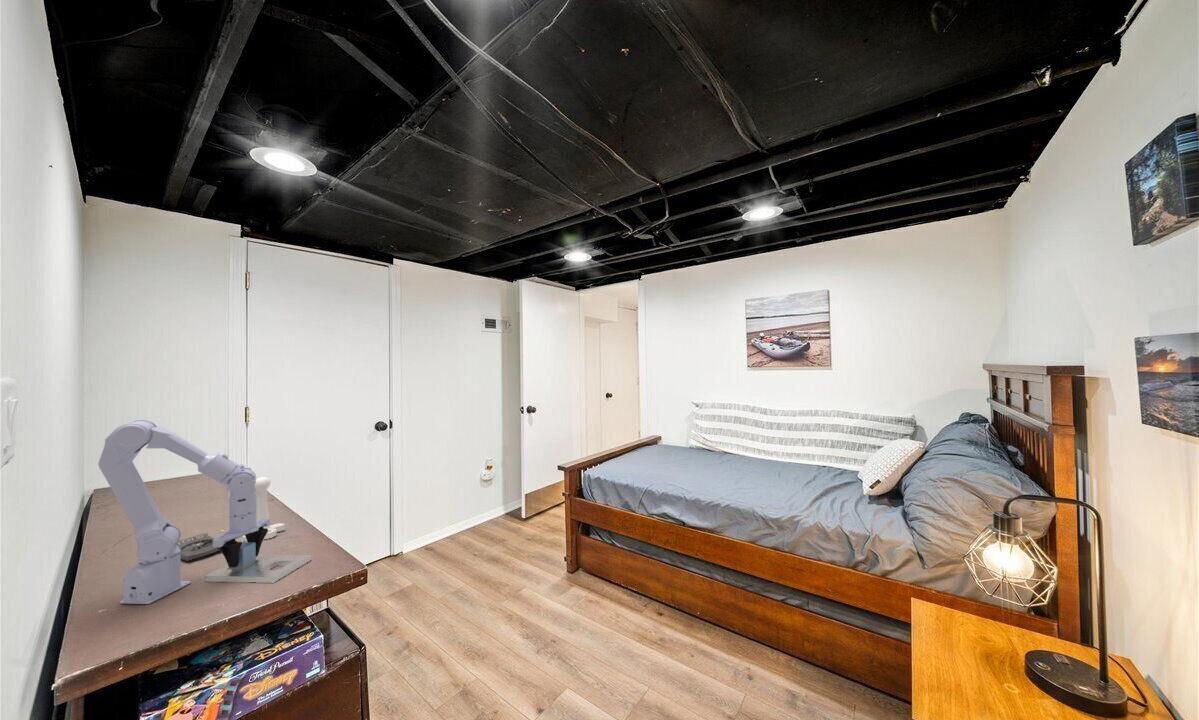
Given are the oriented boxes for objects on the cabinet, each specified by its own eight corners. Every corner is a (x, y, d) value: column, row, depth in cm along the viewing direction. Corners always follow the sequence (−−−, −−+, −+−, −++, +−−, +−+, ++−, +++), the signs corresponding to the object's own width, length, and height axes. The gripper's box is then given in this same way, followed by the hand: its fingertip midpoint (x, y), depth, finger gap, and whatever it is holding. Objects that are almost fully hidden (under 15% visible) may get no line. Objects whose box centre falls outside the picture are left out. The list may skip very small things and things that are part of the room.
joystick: (277, 529, 140) (276, 472, 140) (290, 531, 137) (289, 474, 138) (239, 542, 130) (237, 481, 130) (252, 545, 127) (251, 483, 127)
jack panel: (273, 583, 104) (273, 577, 104) (204, 581, 106) (204, 575, 106) (310, 560, 116) (310, 555, 116) (248, 559, 118) (248, 554, 118)
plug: (243, 573, 110) (243, 548, 110) (231, 573, 110) (231, 548, 110) (255, 567, 113) (255, 542, 113) (244, 566, 113) (243, 542, 114)
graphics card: (154, 546, 122) (207, 530, 132) (155, 558, 122) (208, 542, 132) (173, 559, 113) (228, 541, 124) (174, 572, 113) (229, 553, 124)
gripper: (229, 523, 104) (230, 575, 104) (279, 503, 119) (279, 549, 118) (205, 523, 105) (206, 575, 105) (257, 503, 119) (258, 549, 119)
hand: (243, 561), depth 111 cm, fingers open, 5 cm apart
